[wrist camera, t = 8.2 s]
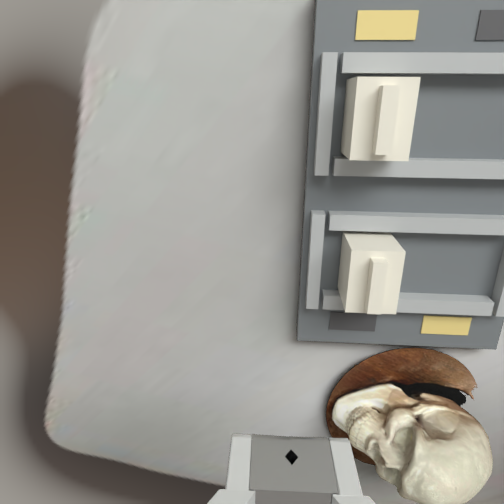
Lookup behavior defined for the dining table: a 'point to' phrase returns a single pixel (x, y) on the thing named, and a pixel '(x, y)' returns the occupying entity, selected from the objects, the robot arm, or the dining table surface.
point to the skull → (413, 424)
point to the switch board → (410, 172)
